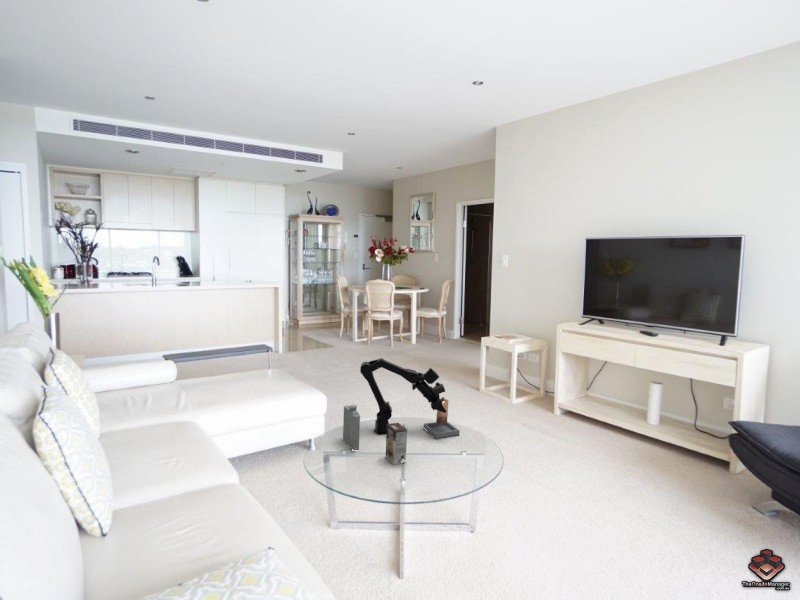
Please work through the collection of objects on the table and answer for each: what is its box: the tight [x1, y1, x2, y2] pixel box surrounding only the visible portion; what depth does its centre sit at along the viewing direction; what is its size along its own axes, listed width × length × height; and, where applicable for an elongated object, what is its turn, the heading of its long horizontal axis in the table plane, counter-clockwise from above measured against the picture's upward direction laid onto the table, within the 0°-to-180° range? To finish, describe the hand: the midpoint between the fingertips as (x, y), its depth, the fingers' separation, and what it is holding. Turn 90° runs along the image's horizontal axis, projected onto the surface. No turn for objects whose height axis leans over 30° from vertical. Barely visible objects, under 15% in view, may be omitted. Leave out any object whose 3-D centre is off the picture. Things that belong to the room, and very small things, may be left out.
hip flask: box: [342, 404, 361, 451], centre depth 229 cm, size 16×4×20 cm, turn 27°
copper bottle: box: [435, 396, 449, 424], centre depth 248 cm, size 6×6×14 cm
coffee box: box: [385, 422, 408, 466], centre depth 215 cm, size 9×6×16 cm
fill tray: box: [423, 421, 460, 440], centre depth 249 cm, size 14×14×3 cm
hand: (444, 410), depth 248 cm, fingers closed on copper bottle, 6 cm apart
